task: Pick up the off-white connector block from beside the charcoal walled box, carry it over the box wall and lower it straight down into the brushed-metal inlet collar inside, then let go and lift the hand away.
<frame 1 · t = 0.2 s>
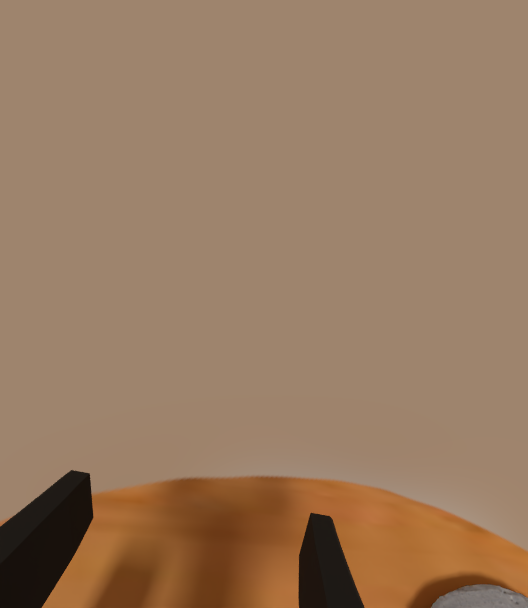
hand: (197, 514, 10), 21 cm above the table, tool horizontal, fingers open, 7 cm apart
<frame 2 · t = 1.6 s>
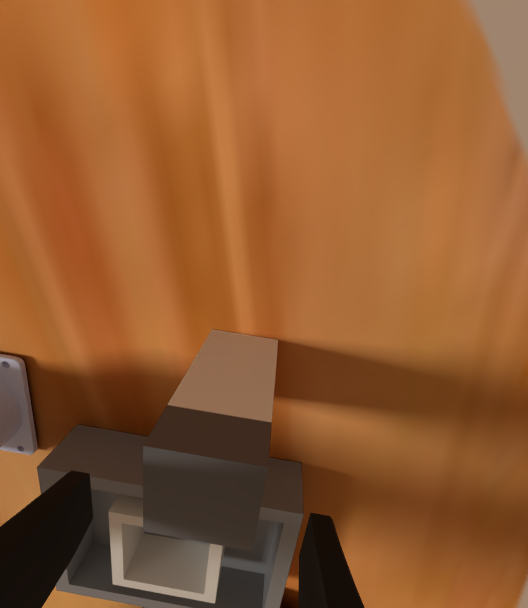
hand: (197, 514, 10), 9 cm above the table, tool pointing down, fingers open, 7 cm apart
connector: (241, 363, 19), on the table
caddy: (184, 504, 23), on the table
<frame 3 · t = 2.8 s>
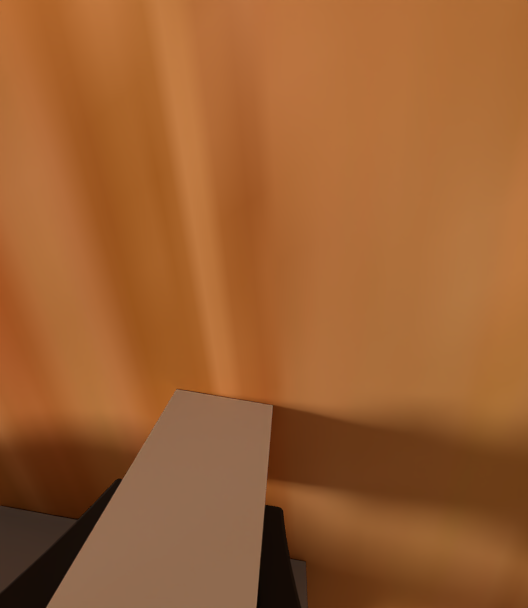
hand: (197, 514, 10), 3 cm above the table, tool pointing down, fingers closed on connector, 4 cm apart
connector: (220, 435, 13), on the table, touching gripper
caddy: (149, 603, 17), on the table
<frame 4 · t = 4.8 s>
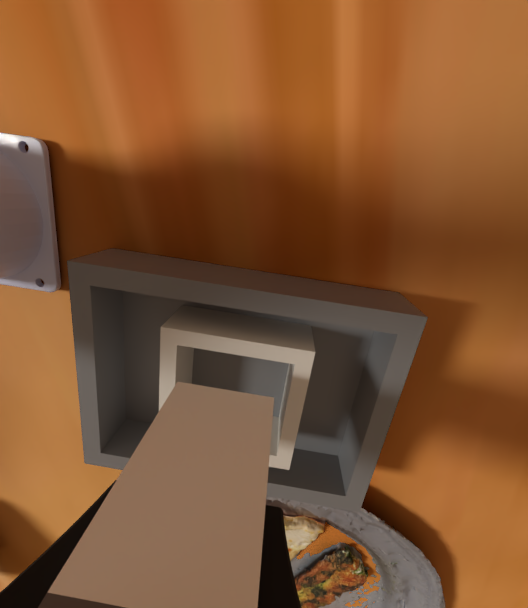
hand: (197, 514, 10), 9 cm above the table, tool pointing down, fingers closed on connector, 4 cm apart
connector: (221, 428, 13), point 6 cm above the table, touching gripper
food plate: (276, 575, 26), on the table
caddy: (241, 364, 19), on the table
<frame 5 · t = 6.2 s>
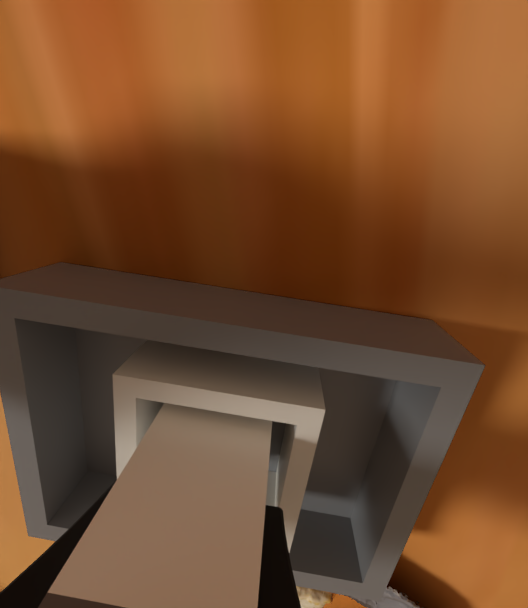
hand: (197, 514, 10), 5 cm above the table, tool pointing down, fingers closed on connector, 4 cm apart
connector: (221, 428, 13), point 2 cm above the table, touching gripper
caddy: (229, 406, 15), on the table
when the fingers open (5 cm above the table, at t = 7.1 s): connector drops 1 cm, resting on caddy.
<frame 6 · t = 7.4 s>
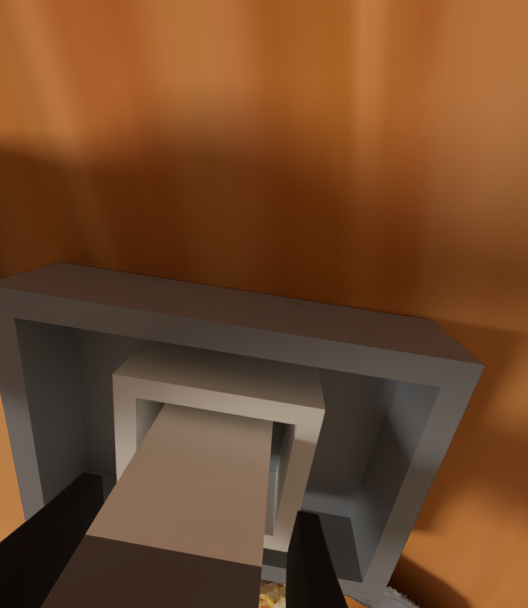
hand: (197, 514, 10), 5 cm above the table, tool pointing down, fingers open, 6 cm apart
connector: (226, 412, 14), point 1 cm above the table, touching caddy
caddy: (229, 405, 15), on the table
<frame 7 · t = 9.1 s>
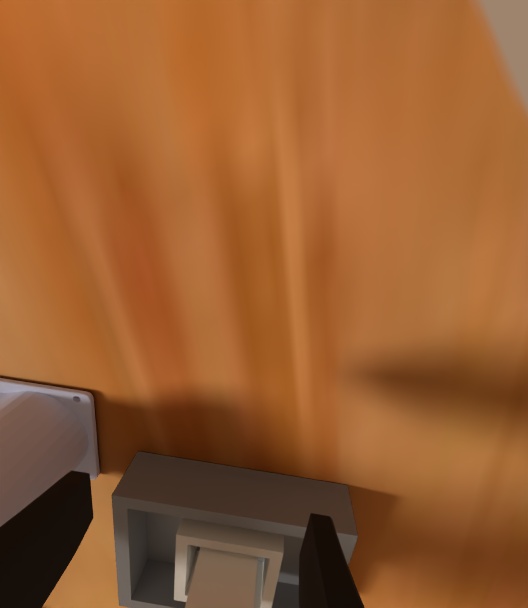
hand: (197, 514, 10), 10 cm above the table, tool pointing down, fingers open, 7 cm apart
connector: (233, 530, 24), point 1 cm above the table, touching caddy
caddy: (234, 522, 25), on the table
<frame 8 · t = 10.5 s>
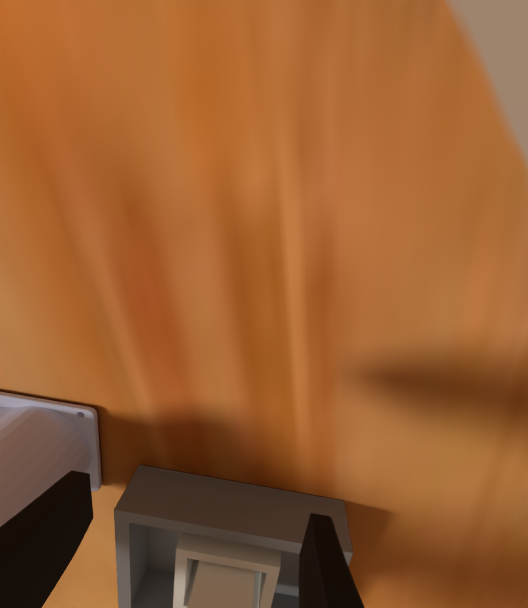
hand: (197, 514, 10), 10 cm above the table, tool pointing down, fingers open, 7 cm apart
connector: (231, 542, 24), point 1 cm above the table, touching caddy
caddy: (232, 534, 25), on the table
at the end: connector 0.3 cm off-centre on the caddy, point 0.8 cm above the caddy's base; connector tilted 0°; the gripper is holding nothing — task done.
